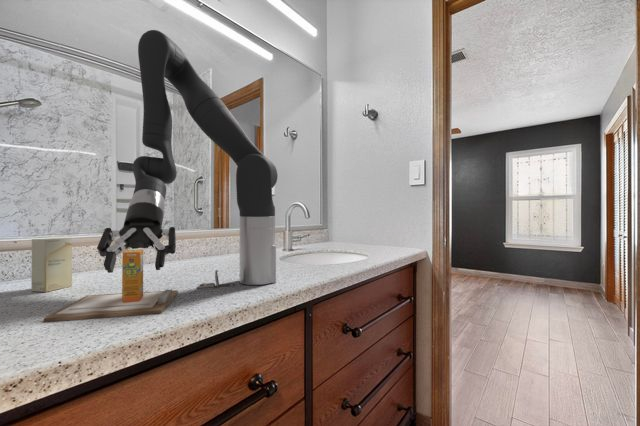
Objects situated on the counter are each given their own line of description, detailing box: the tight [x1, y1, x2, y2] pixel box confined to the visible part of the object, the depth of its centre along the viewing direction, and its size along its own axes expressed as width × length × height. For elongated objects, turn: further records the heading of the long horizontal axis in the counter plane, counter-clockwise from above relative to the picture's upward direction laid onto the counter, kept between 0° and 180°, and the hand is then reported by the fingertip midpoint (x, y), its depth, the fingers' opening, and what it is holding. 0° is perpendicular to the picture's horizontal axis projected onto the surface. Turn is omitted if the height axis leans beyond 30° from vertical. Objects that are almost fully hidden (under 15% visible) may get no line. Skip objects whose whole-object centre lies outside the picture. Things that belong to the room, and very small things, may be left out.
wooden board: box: [43, 289, 179, 323], centre depth 59 cm, size 18×14×2 cm
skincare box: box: [31, 237, 73, 293], centre depth 71 cm, size 6×4×12 cm
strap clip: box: [197, 269, 235, 290], centre depth 74 cm, size 8×3×4 cm, turn 107°
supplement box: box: [121, 248, 144, 303], centre depth 60 cm, size 3×4×10 cm
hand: (134, 269), depth 60 cm, fingers open, 8 cm apart
